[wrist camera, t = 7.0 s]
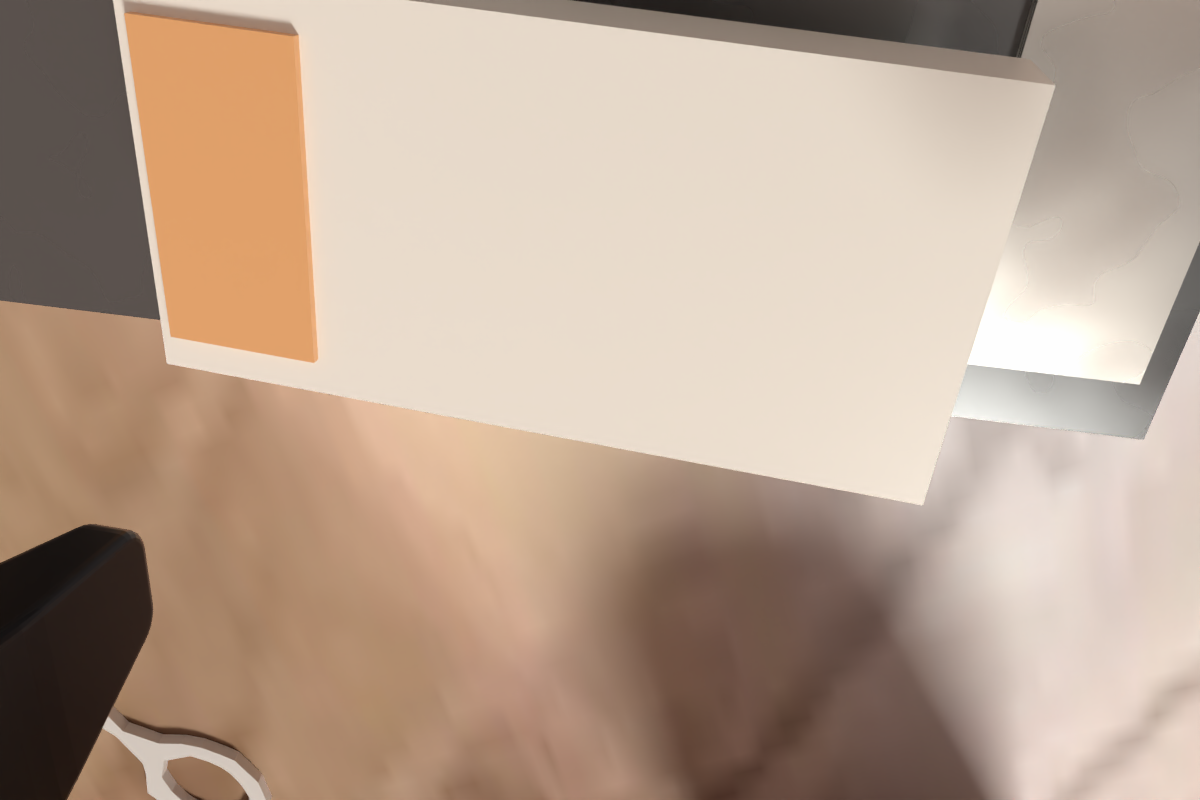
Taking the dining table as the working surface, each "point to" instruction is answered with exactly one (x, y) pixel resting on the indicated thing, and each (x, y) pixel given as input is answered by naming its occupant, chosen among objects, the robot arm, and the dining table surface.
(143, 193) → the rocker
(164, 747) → the scissors
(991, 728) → the dining table surface
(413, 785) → the dining table surface
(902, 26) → the breaker box
